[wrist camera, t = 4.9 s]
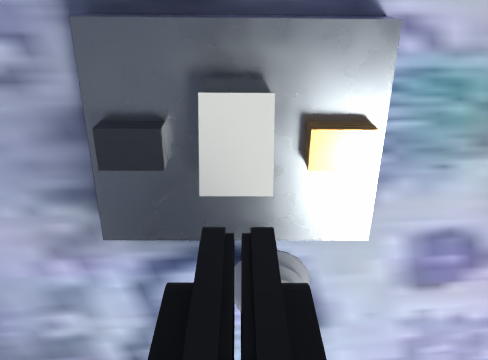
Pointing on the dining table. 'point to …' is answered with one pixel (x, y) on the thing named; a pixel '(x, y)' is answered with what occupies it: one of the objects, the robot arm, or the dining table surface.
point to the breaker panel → (235, 81)
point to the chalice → (289, 273)
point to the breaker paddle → (236, 144)
